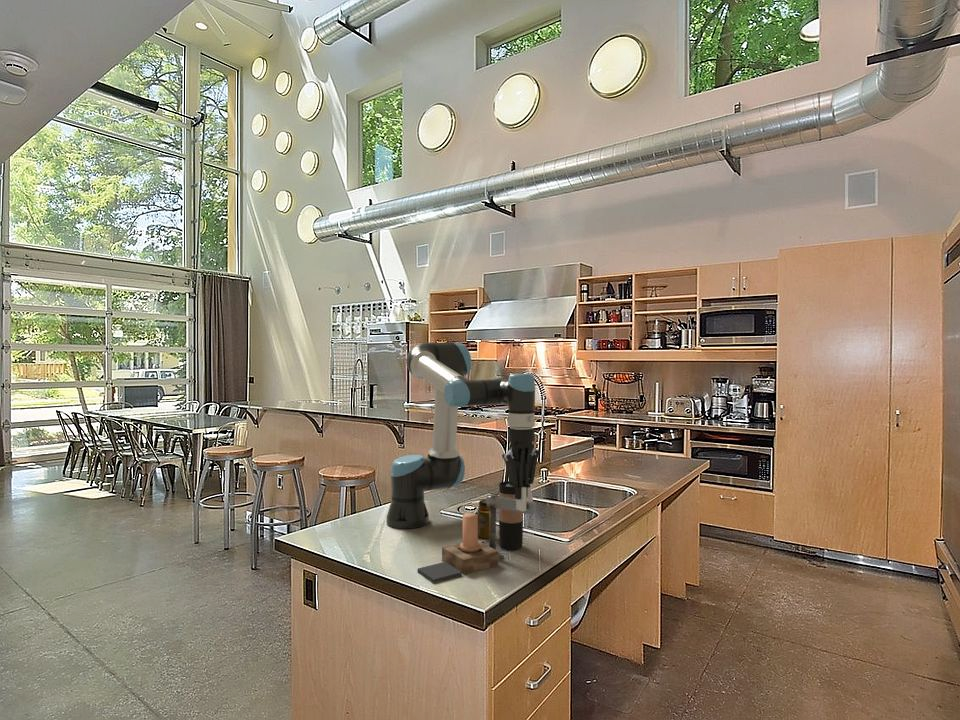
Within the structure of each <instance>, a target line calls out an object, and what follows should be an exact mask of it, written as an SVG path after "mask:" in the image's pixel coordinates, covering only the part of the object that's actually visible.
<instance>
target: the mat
mask: <svg viewBox="0 0 960 720" xmlns="http://www.w3.org/2000/svg"><path fill="white" fill-rule="evenodd" d="M417 573H418V574H420V575H421V576H422V577H424V578H425V579H426V580H428V581H429V582H431V583H432V584H437V583H440V582H443V581H447V580H451V579H454V578H458V577H462V575H463V573H462V572H461V571H459V570H458V569H456V568H454V567H453V566H451V565H450V564H448V563H446V562H443V561H442V562H439V563H434V564H431V565H426V566H422V567H418V568H417Z"/></svg>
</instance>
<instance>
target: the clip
mask: <svg viewBox="0 0 960 720" xmlns="http://www.w3.org/2000/svg"><path fill="white" fill-rule="evenodd" d="M486 499H487V507H490V508H496V509H499V508H500V509H506V510H511V511H516V512H522V513H523V514H524V513H526V514H527V515H534V514H536V513H537V510H536V509H537V502H535V501H533V502H530V501H526V511H520V510H517V509H516V499H513V498H507V497H501V496H499V494H487V495H486Z"/></svg>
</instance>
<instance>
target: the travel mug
mask: <svg viewBox="0 0 960 720" xmlns="http://www.w3.org/2000/svg"><path fill="white" fill-rule="evenodd" d="M498 485H499V492H498V496H501V497H507V498H513V499H515V487H513V486H510V485H509V480H506V481H505V480H504V481H501V482H500V483H499V484H498ZM498 531H499V533H498V534H499V535H498V536H499V538H498V539H499V548H500V549H501V550H505V551H508V552H509V551H512V552H513V551H514V552H515V551H518V550H521V549H523V540H524V539H523V537H524V536H523V534H524V513H522V512H516V511H511V510H506V509H500V508H498Z"/></svg>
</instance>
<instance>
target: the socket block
mask: <svg viewBox="0 0 960 720" xmlns="http://www.w3.org/2000/svg"><path fill="white" fill-rule="evenodd" d="M496 535H497V508H490V507H489V540H488V543H489V544H485V543H483V542H480V541H478V543H480V550H478V552H474V553H470V554H466V553H464V552H463V551H462V550H460V544H461V543H462V542H459V543H455V544H452V545H445V546H443V547H442V546H441V561H442V562H446V563H448V564H450V565H451V566H453V567H454V568H456V569H458V570H459V571H461V572H462V575H466V574H471V573H474V572H477V571H481V570H485V569H488V568H493V567H496V566H499V565H500V560H501V559H505V555H504V554H502V553H500V551H499V550H497V544H496V543H497V539H496Z"/></svg>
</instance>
